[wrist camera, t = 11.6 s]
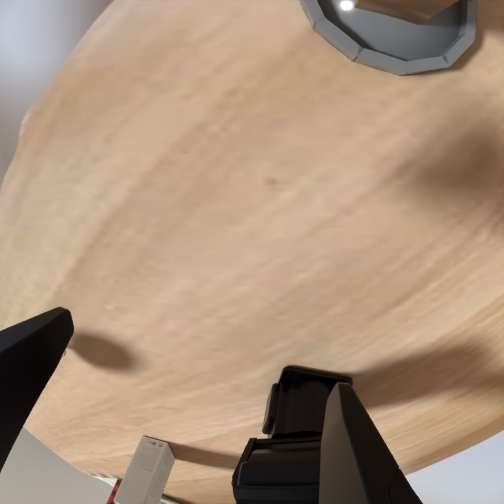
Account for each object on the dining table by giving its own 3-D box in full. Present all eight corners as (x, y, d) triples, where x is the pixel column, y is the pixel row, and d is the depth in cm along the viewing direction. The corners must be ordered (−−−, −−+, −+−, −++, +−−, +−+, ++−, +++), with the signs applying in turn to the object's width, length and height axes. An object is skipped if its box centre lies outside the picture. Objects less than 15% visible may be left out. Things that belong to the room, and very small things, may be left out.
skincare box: (141, 434, 38) (111, 500, 27) (168, 442, 37) (141, 511, 27) (151, 452, 40) (126, 512, 30) (176, 459, 40) (153, 522, 29)
